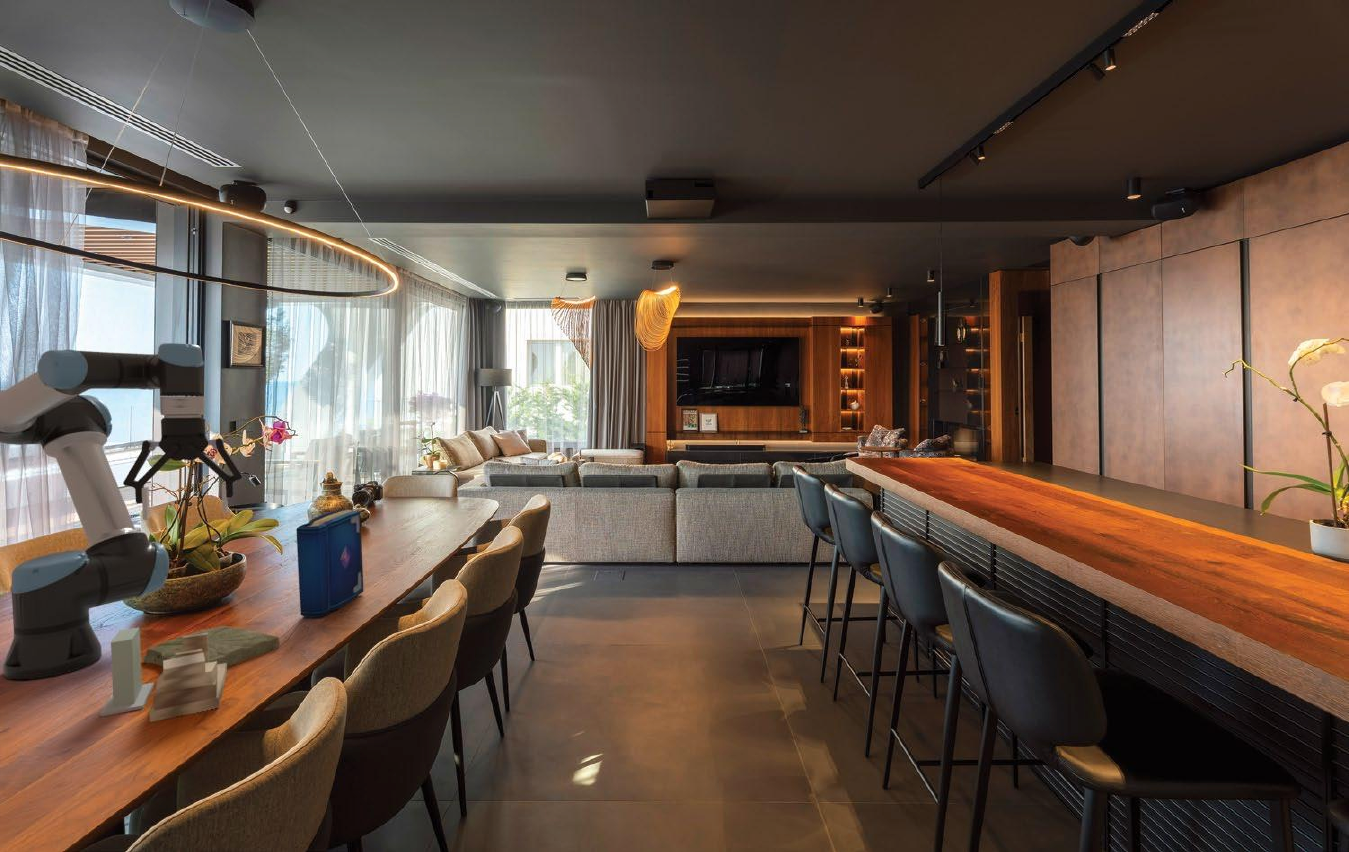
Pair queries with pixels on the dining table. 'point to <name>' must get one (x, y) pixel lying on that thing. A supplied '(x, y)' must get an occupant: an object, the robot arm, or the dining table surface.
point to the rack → (191, 647)
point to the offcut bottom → (184, 696)
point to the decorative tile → (219, 646)
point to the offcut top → (183, 666)
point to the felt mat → (138, 704)
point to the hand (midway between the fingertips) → (186, 515)
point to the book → (329, 562)
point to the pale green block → (126, 666)
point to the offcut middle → (189, 679)
